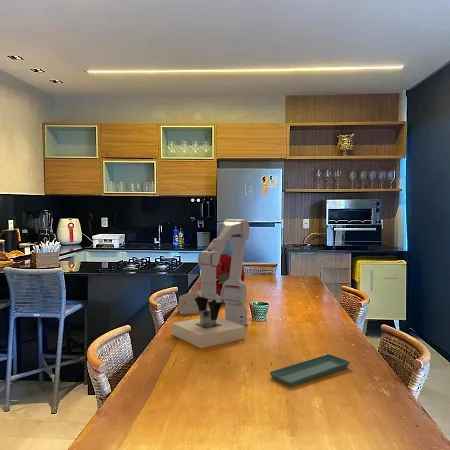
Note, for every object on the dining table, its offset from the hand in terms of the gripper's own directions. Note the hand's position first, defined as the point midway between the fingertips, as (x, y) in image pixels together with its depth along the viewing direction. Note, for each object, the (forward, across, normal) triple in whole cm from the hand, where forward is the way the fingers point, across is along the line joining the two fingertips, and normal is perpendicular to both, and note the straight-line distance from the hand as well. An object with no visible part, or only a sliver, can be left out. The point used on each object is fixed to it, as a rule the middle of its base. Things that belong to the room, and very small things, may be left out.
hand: (208, 317), depth 172 cm
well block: (+7, 0, 0) cm, 7 cm away
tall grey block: (+7, 0, 0) cm, 7 cm away
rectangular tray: (+8, +48, +5) cm, 49 cm away
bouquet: (+8, -52, +46) cm, 70 cm away
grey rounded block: (+8, -36, +17) cm, 40 cm away
